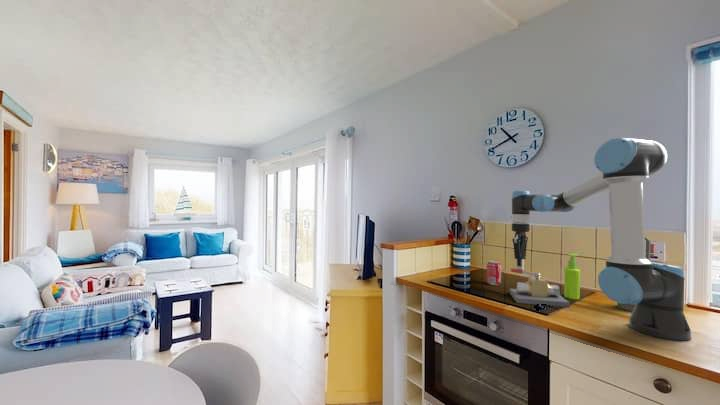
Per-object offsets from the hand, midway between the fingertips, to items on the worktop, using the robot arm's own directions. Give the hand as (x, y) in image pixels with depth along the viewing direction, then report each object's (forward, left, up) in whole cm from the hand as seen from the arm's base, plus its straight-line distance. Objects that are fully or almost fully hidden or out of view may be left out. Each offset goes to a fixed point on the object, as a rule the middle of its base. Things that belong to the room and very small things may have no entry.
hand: (520, 272), depth 149 cm
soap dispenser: (+1, -23, -10) cm, 25 cm away
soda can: (+15, +9, -10) cm, 21 cm away
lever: (-4, -2, 0) cm, 4 cm away
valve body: (-8, -6, -9) cm, 13 cm away
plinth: (-8, -6, -10) cm, 14 cm away
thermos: (-10, -40, -10) cm, 42 cm away
